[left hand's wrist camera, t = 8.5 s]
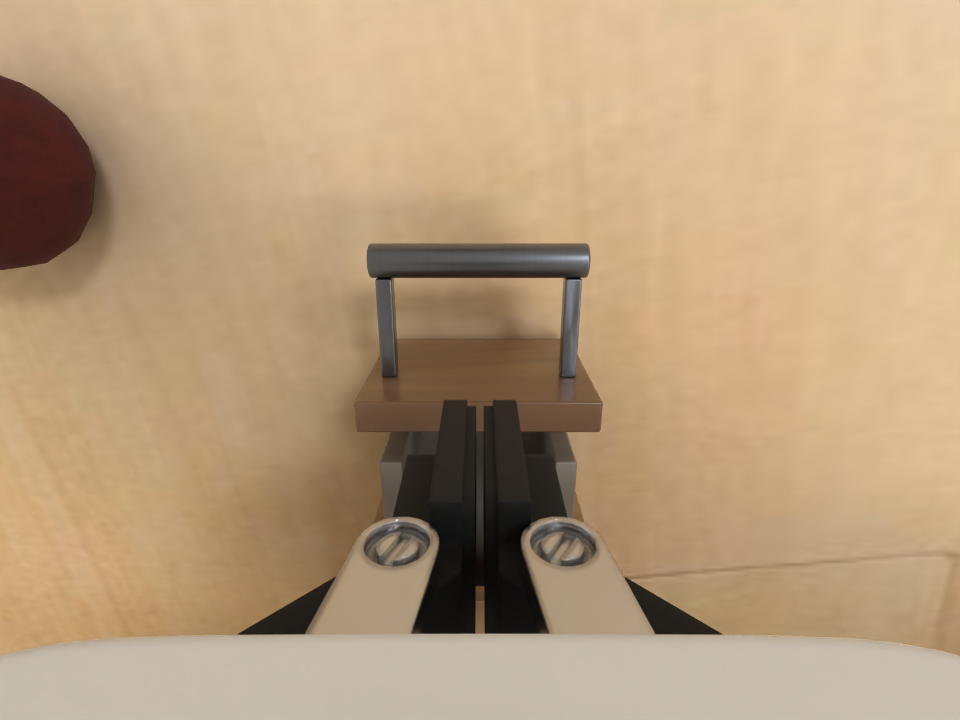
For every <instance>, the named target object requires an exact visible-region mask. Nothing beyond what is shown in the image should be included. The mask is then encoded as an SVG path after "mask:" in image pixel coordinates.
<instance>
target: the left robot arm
mask: <svg viewBox="0 0 960 720" xmlns="http://www.w3.org/2000/svg"><path fill="white" fill-rule="evenodd" d="M476 521H477V483H476V406H467V400H444V402H443V408H442V415H441V422H440V429H439V435H438V442H437V449H436V454H409V455H408V456H407V460H406V464H405V468H404V472H403V476H402V480H401V484H400V488H399V492H398V496H397V501H396V505H395V509H394V513H393V517H392V518H388V519H384V520H381V521H379V522H376V523H374V524H372V525H371V526H369V527H368V528H366V529H365V530H364V531H363V532H362V533H361V534H360V536H359V537H358V538H357V540H356V541H355V543H354V545H353V547H352V549H351V550H350V552H349V554H348V556H347V558H346V560H345V561H344V563H343V565H342V567H341V569H340V571H339V572H338V574H337V576H336V577H334V578H333V579H331V580H329V581H328V582H326V583H324V584H322V585H321V586H319V587H317V588H316V589H314V590H312V591H311V592H309V593H307V594H305V595H304V596H302V597H300V598H299V599H297V600H295V601H293V602H292V603H290V604H288V605H287V606H285V607H283V608H282V609H280V610H278V611H276V612H275V613H273V614H271V615H270V616H268V617H266V618H264V619H263V620H261V621H259V622H258V623H256V624H254V625H253V626H251V627H249V628H247V629H246V630H244V631H242V632H241V633H239V634H237V635H172V636H145V637H118V638H99V639H90V640H81V641H72V642H62V643H56V644H51V645H46V646H40V647H35V648H30V649H24V650H19V651H15V652H11V653H8V654H4V655H1V656H0V720H960V656H959V655H956V654H952V653H949V652H945V651H941V650H936V649H930V648H925V647H920V646H914V645H909V644H904V643H898V642H888V641H879V640H870V639H861V638H842V637H815V636H788V635H723V634H721V633H719V632H718V631H716V630H714V629H713V628H711V627H709V626H707V625H706V624H704V623H702V622H701V621H699V620H697V619H696V618H694V617H692V616H690V615H689V614H687V613H685V612H684V611H682V610H680V609H678V608H677V607H675V606H673V605H672V604H670V603H668V602H667V601H665V600H663V599H661V598H660V597H658V596H656V595H655V594H653V593H651V592H649V591H648V590H646V589H644V588H643V587H641V586H639V585H638V584H636V583H634V582H632V581H631V580H629V579H627V578H626V577H624V576H623V574H622V572H621V571H620V569H619V567H618V565H617V563H616V561H615V560H614V558H613V556H612V554H611V552H610V550H609V549H608V547H607V545H606V543H605V541H604V540H603V538H602V537H601V536H600V534H599V533H598V532H597V531H596V530H595V529H594V528H592V527H591V526H589V525H588V524H586V523H584V522H581V521H579V520H576V519H572V518H568V517H567V513H566V509H565V505H564V501H563V496H562V492H561V488H560V484H559V480H558V476H557V472H556V468H555V464H554V460H553V456H552V455H551V454H524V449H523V442H522V435H521V429H520V422H519V415H518V409H517V402H516V400H493V406H484V483H483V521H484V625H485V634H475V625H476Z"/></svg>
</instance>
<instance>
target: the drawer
mask: <svg viewBox="0 0 960 720" xmlns="http://www.w3.org/2000/svg"><path fill="white" fill-rule="evenodd" d="M367 268H368V273H369V275H370V277H372V278H377V279H376V281H375V282H376V297H377V312H378V327H379V342H380V357H379V359H378V360H377V362H376V364H375V366H374V368H373V370H372V371H371V373H370V375H369V377H368V379H367V381H366V382H365V384H364V386H363V388H362V390H361V392H360V394H359V395H358V397H357V399H356V401H355V403H354V405H355V417H356V428H357V431H358V432H391V433H390V435H389V438H388V441H387V444H386V447H385V450H384V453H383V456H382V459H381V462H380V469H381V483H382V497H383V511H384V519H388V518H392V517H393V513H394V509H395V505H396V501H397V496H398V492H399V488H400V484H401V480H402V476H403V472H404V468H405V464H406V460H407V456H408V455H409V454H436V449H437V442H438V435H439V429H440V422H441V415H442V408H443V402H444V400H467V406H476V483H477V521H476V586H484V521H483V483H484V406H493V400H516V402H517V409H518V415H519V422H520V429H521V435H522V442H523V449H524V454H551V455H552V456H553V460H554V464H555V468H556V472H557V476H558V480H559V484H560V488H561V492H562V496H563V501H564V505H565V509H566V513H567V517H568V518H572V519H573V513H574V498H575V484H576V469H577V462H576V459H575V456H574V453H573V450H572V447H571V444H570V441H569V438H568V435H567V432H599V431H600V429H601V417H602V405H603V403H602V401H601V399H600V397H599V395H598V393H597V391H596V389H595V388H594V386H593V384H592V382H591V380H590V378H589V376H588V374H587V372H586V370H585V368H584V367H583V365H582V363H581V361H580V359H579V357H578V355H577V348H578V333H579V317H580V301H581V286H582V279H581V278H586V277H587V276H588V273H589V269H590V249H589V246H588V244H369V246H368V249H367ZM394 278H564V281H563V300H562V319H561V338H560V339H397V331H396V313H395V295H394Z"/></svg>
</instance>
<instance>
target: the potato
mask: <svg viewBox="0 0 960 720" xmlns="http://www.w3.org/2000/svg"><path fill="white" fill-rule="evenodd" d="M95 174H96V173H95V170H94V166H93V163H92V159H91V155H90V152H89V148H88V146H87V144H86V143H85V141H84V140H83V138H82V137H81V135H80V134H79V132H78V131H77V129H76V128H75V126H74V124H73V123H72V122H71V120H70V119H69V118H68V117H67V116H66V114H65V113H64V112H62V111H61V110H60V109H59V108H57V107H56V106H55V105H53V104H52V103H51V102H50V101H48V100H47V99H46V98H45V97H43V96H42V95H41V94H40V93H38V92H36V91H34V90H33V89H31V88H29V87H27V86H25V85H23V84H21V83H19V82H16V81H13V80H11V79H8V78H5V77H3V76H0V270H5V269H12V268H20V267H26V266H32V265H37V264H43V263H47V262H49V261H50V260H52V259H53V258H54V257H56V256H57V255H59V254H60V253H62V252H63V251H65V250H66V249H68V248H69V247H70V246H72V245H73V244H74V243H76V242H77V241H78V240H79V238H80V236H81V234H82V232H83V230H84V228H85V226H86V224H87V222H88V220H89V218H90V216H91V213H92V206H93V196H94V185H95Z"/></svg>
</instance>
